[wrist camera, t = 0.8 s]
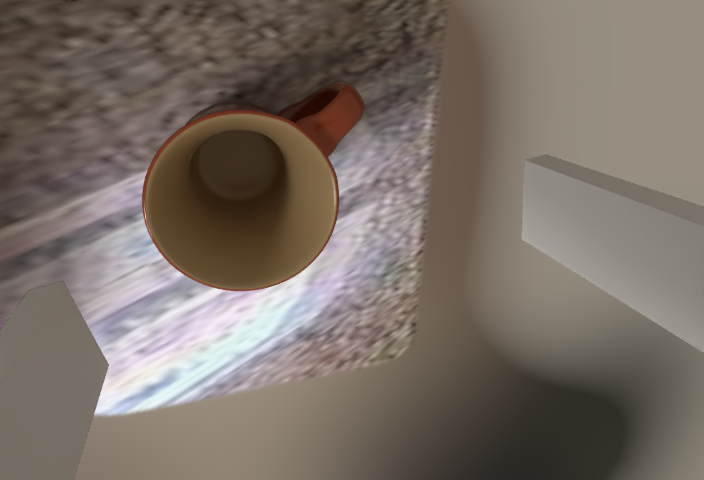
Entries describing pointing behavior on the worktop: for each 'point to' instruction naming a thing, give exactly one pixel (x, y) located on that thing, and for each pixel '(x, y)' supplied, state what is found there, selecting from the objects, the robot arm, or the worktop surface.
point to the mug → (249, 189)
